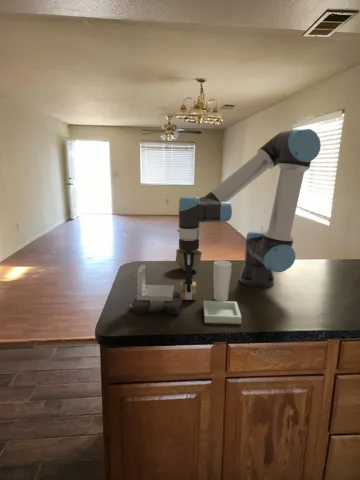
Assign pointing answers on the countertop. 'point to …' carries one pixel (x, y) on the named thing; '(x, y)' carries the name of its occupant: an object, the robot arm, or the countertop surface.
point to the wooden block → (182, 290)
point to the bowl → (181, 258)
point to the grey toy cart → (155, 296)
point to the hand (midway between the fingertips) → (188, 296)
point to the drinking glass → (221, 279)
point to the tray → (221, 312)
